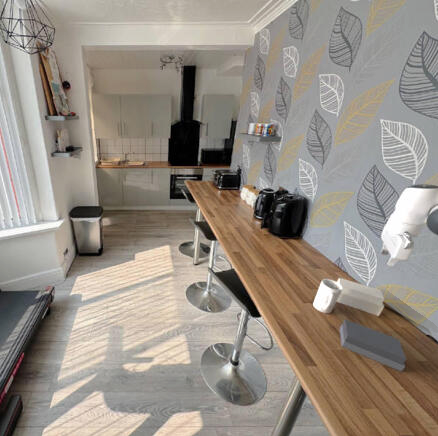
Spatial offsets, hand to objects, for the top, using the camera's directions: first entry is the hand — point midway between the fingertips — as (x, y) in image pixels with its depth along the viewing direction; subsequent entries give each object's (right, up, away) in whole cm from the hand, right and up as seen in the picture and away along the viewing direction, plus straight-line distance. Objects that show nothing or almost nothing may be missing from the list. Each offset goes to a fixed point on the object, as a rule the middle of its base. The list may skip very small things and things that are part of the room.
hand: (386, 259), depth 92 cm
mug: (-23, -21, +4) cm, 31 cm away
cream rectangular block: (-5, -15, +7) cm, 17 cm away
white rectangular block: (-5, -20, +9) cm, 22 cm away
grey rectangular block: (-18, -28, -12) cm, 36 cm away
